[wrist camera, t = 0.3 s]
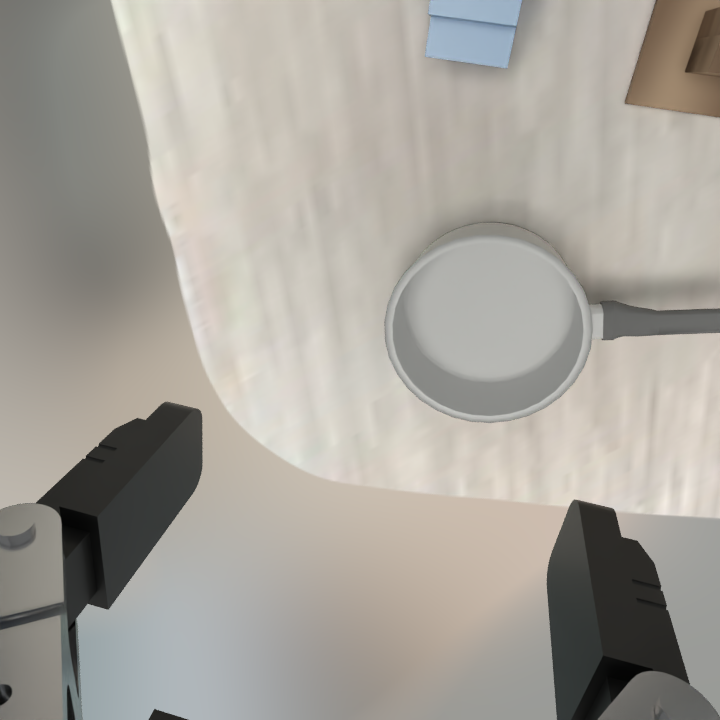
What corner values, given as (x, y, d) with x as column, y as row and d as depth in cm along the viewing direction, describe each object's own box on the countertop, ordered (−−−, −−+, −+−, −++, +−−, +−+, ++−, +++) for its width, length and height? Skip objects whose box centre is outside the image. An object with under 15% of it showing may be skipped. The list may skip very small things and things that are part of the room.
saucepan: (725, 373, 37) (759, 419, 32) (409, 383, 42) (396, 424, 37) (747, 185, 32) (790, 205, 27) (389, 222, 37) (371, 244, 32)
